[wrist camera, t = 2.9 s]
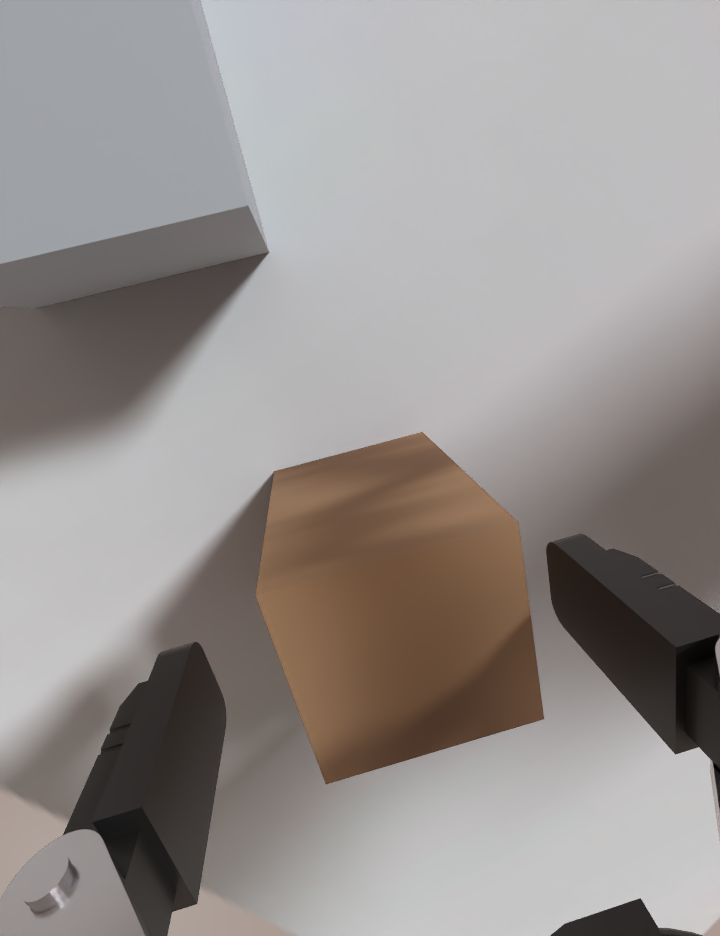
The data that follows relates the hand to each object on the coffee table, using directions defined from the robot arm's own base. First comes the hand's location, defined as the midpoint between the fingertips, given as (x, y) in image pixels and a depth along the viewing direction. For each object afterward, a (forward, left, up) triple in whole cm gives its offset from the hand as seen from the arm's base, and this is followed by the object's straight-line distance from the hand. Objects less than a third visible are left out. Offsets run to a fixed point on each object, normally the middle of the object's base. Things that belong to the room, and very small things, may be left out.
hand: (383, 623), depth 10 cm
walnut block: (0, 0, -6) cm, 6 cm away
